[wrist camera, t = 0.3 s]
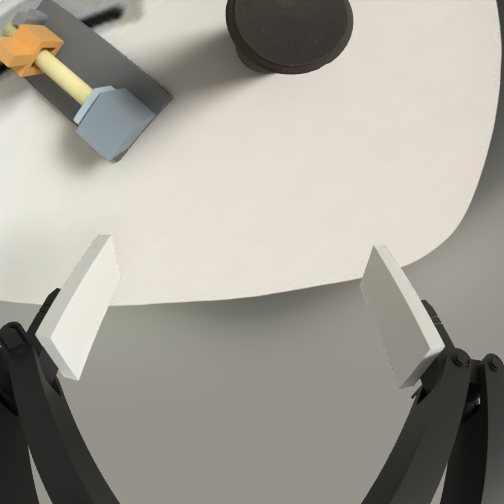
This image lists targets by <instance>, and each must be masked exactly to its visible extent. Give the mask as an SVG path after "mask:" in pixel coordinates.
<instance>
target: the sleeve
mask: <svg viewBox="0 0 504 504" xmlns="http://www.w3.org/2000/svg"><path fill="white" fill-rule="evenodd" d="M63 44H64V41H63V40H62V39H60V38H59V37H58V36H57V35H55V34H54V33H53V32H52V31H50V30H49V29H48V28H47V27H45V26H44V25H30V24H21V25H20V26H19V28H18V29H17V31H16V33H15V34H14V36H13V37H0V60H1V61H2V62H3V63H4V64H5V65H6V66H7V67H10V68H11V69H12V70H13V71H14V72H15V73H16V74H17V75H18V76H20V77H26V76H32V75H38V74H44V73H45V72H44V71H42V70H41V69H40V68H39V67H38V66H37V65H36V64H35V63H33V62H34V60H35V58H36V56H37V55H38V53H39V52H40V50H41V48H45V49H46V50H47V51H49V52H50V53H51V54H52V55H53V56H54V57H55V55H56V54H57V52H58V51H59V49H60V48H61V47H62V45H63Z"/></svg>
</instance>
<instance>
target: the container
mask: <svg viewBox="0 0 504 504" xmlns="http://www.w3.org/2000/svg"><path fill="white" fill-rule="evenodd" d="M226 23H227V28H228V31H229V33H230V36H231V38H232V40H233V42H234V44H235V45H236V50H237V53H238V56H239V58H240V59H241V61H242V62H243V63H244V64H245V65H246V66H247V67H249V68H250V69H252V70H254V71H257V72H261V73H279V74H303V73H308V72H311V71H314V70H317V69H319V68H321V67H322V66H324V65H325V64H328V63H330V62H332V61H333V60H334V59H336V58H337V57H338V56H339V55H340V53H341V52H342V51H343V50H344V48H345V47H346V45H347V44H348V42H349V40H350V37H351V34H352V30H353V13H352V9H351V6H350V3H349V1H348V0H228V1H227V5H226Z"/></svg>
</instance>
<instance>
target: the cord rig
mask: <svg viewBox="0 0 504 504" xmlns="http://www.w3.org/2000/svg"><path fill="white" fill-rule="evenodd" d="M21 24H30V25H44V26H45V27H47V28H48V29H49V30H50V31H52V32H53V33H54V34H55V35H57V36H58V37H59V38H60V39H62V40H63V41H64V44H63V45H62V47H61V48H60V49H59V51H58V52H57V54H56V55H55V57H54V56H53V55H52V54H51V53H50V52H49V51H47V50H46V49H45V48H41V50H40V52H39V53H38V55H37V56H36V58H35V60H34V62H33V63H35V64H36V65H37V66H38V67H39V68H40V69H41V70H42V71H44V72H45V73H44V74H38V75H32V76H26V77H24V78H25V79H26V80H27V81H28V82H29V83H30V84H32V85H33V86H34V87H35V88H36V89H37V90H38V91H39V92H40V93H41V94H42V95H43V96H44V97H46V98H47V99H48V100H49V101H50V102H51V103H52V104H53V105H54V106H55V107H56V108H57V109H59V110H60V111H61V112H62V113H63V114H64V115H65V116H66V117H67V118H68V119H70V120H71V121H72V122H73V123H74V124H75V125H76V126H77V127H78V128H77V130H76V131H75V133H77V134H78V135H79V136H80V137H81V138H82V139H83V140H84V141H85V142H87V143H88V144H89V145H90V146H91V147H92V148H93V149H94V150H95V151H97V152H98V153H99V154H100V155H101V156H102V157H103V158H104V159H106V160H107V161H108V162H109V161H110V160H112V159H114V160H115V161H117V162H118V161H120V160H121V158H122V157H123V156H124V155H125V153H126V152H127V151H128V149H129V148H130V147H131V146H132V144H133V143H134V142H135V141H136V139H137V138H138V137H139V136H140V135H141V133H142V132H143V131H144V130H145V129H146V127H147V126H148V125H149V124H150V123H151V122H152V121H153V119H154V118H155V117H156V116H157V115H158V114H159V113H160V112H161V110H162V109H163V108H164V107H165V106H166V105H167V104H168V103H169V102H170V101H171V100H172V99H173V97H172V96H171V95H170V94H169V93H168V92H167V91H166V90H164V89H163V88H162V87H161V86H160V85H159V84H158V83H156V82H155V81H154V80H153V79H152V78H151V77H149V76H148V75H147V74H146V73H145V72H144V71H142V70H141V69H140V68H139V67H138V66H136V65H135V64H134V63H133V62H132V61H130V60H129V59H128V58H127V57H126V56H124V55H123V54H122V53H121V52H119V51H118V50H117V49H116V48H115V47H113V46H112V45H111V44H110V43H108V42H107V41H106V40H104V39H103V38H102V37H101V36H99V35H98V34H97V33H95V32H94V31H93V30H92V29H90V28H89V27H88V26H86V25H85V24H84V23H82V22H81V21H80V20H78V19H77V18H76V17H74V16H73V15H71V14H70V13H69V12H67V11H66V10H65V9H63V8H62V7H60V6H59V5H58V4H56V3H55V2H53V1H52V0H43V1H42V2H41V3H40V5H39V6H38V8H37V9H36V10H35V9H30V10H29V12H28V13H24V12H18V13H17V14H16V16H15V17H14V19H13V21H12V22H11V23H9V24H7V25H6V26H5V27H4V29H3V31H2V35H3V36H4V37H13V36H14V34H15V33H16V31H17V29H18V28H19V26H20V25H21Z"/></svg>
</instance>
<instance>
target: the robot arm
mask: <svg viewBox="0 0 504 504" xmlns="http://www.w3.org/2000/svg"><path fill="white" fill-rule="evenodd" d="M120 280H121V274H120V270H119V266H118V262H117V258H116V254H115V250H114V245H113V241H112V236H111V235H98V236H97V237H96V238H95V240H94V241H93V243H92V244H91V245H90V247H89V248H88V250H87V251H86V252H85V254H84V255H83V257H82V258H81V260H80V261H79V263H78V264H77V266H76V267H75V268H74V270H73V272H72V273H71V275H70V276H69V278H68V279H67V281H66V282H65V284H64V285H63V287H62V289H59V288H56V289H55V290H54V291H53V292H52V293H50V294H49V295H48V297H47V298H46V300H45V302H44V303H43V305H42V307H41V308H40V310H39V312H38V313H37V315H36V317H35V318H34V320H33V322H32V324H31V325H30V327H29V329H28V331H27V333H26V332H25V330H24V329H23V327H22V326H21V324H19V323H18V322H9V323H7V324H6V325H4V326H3V327H2V328H1V329H0V345H1V347H0V504H39V501H38V497H37V493H36V489H35V484H34V480H33V475H32V469H31V464H30V458H29V451H28V446H29V449H30V452H31V455H32V458H33V460H34V463H35V465H36V468H37V470H38V473H39V475H40V477H41V480H42V482H43V484H44V487H45V489H46V491H47V493H48V495H49V497H50V499H51V501H52V503H53V504H120V503H119V502H118V500H117V498H116V497H115V496H114V494H113V492H112V491H111V489H110V488H109V486H108V484H107V483H106V481H105V479H104V478H103V476H102V474H101V472H100V471H99V469H98V467H97V466H96V464H95V462H94V460H93V458H92V456H91V454H90V452H89V450H88V449H87V446H86V444H85V442H84V440H83V438H82V436H81V434H80V432H79V430H78V428H77V425H76V423H75V421H74V418H73V416H72V414H71V411H70V409H69V407H68V404H67V401H66V399H65V396H64V393H63V391H62V388H61V385H60V382H59V380H58V378H57V376H56V374H57V371H58V369H59V371H60V372H61V373H62V375H63V376H64V377H66V378H71V379H75V380H79V378H80V375H81V372H82V370H83V367H84V364H85V362H86V359H87V356H88V354H89V351H90V349H91V346H92V344H93V341H94V339H95V336H96V334H97V331H98V329H99V326H100V324H101V322H102V319H103V317H104V315H105V313H106V310H107V308H108V306H109V304H110V302H111V300H112V297H113V295H114V293H115V291H116V289H117V287H118V285H119V282H120ZM360 289H361V291H362V293H363V296H364V298H365V300H366V303H367V305H368V308H369V310H370V312H371V314H372V317H373V320H374V322H375V325H376V327H377V330H378V332H379V335H380V337H381V340H382V342H383V345H384V348H385V350H386V353H387V356H388V358H389V361H390V364H391V366H392V369H393V372H394V375H395V378H396V381H397V384H398V387H399V388H405V387H410V386H414V384H415V383H416V382H417V381H418V380H419V379H421V382H422V385H421V386H420V387H419V388H418V389H417V391H416V392H415V393H414V394H413V395H412V397H411V398H414V397H415V396H416V398H415V400H414V403H413V405H412V408H411V411H410V413H409V415H408V417H407V420H406V422H405V424H404V427H403V429H402V431H401V433H400V435H399V437H398V440H397V442H396V444H395V446H394V448H393V450H392V452H391V454H390V455H389V457H388V459H387V461H386V463H385V465H384V467H383V469H382V470H381V472H380V474H379V476H378V478H377V479H376V481H375V482H374V484H373V486H372V487H371V489H370V491H369V492H368V494H367V495H366V497H365V499H364V500H363V502H362V503H361V504H430V503H431V501H432V498H433V497H434V494H435V492H436V490H437V488H438V485H439V483H440V480H441V478H442V475H443V473H444V470H445V468H446V465H447V462H448V465H447V472H446V477H445V482H444V488H443V492H442V497H441V501H440V504H504V365H503V362H502V361H501V359H500V358H499V357H498V356H497V355H495V354H487V355H486V356H485V357H484V359H483V360H482V361H480V360H473V359H470V357H469V355H468V354H467V353H466V352H465V351H463V350H462V349H459V348H455V347H454V345H453V343H452V342H451V339H450V337H449V336H448V334H447V332H446V330H445V328H444V327H443V325H442V324H441V321H440V319H439V318H438V317H437V314H436V312H435V310H434V309H433V307H432V306H431V305H430V304H428V303H427V301H426V300H420V299H419V297H418V295H417V294H416V292H415V290H414V289H413V287H412V285H411V284H410V282H409V280H408V279H407V277H406V276H405V274H404V272H403V271H402V269H401V268H400V266H399V265H398V263H397V261H396V260H395V258H394V257H393V255H392V254H391V252H390V251H389V249H388V248H387V246H382V245H373V248H372V251H371V255H370V258H369V261H368V264H367V266H366V269H365V272H364V275H363V278H362V281H361V284H360ZM479 398H480V404H479V402H478V399H479Z"/></svg>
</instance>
